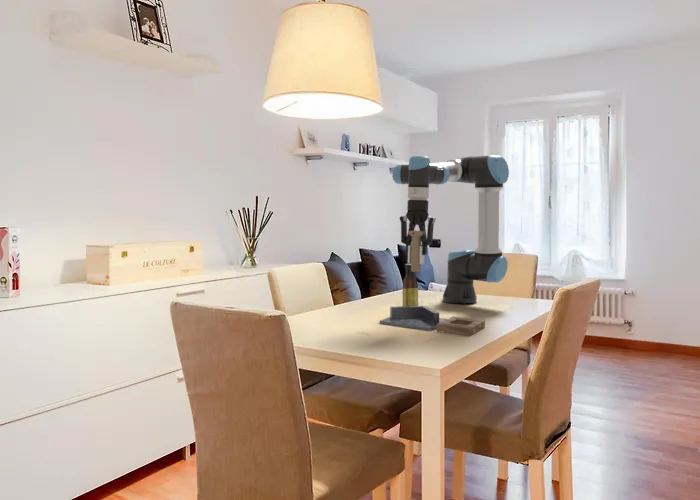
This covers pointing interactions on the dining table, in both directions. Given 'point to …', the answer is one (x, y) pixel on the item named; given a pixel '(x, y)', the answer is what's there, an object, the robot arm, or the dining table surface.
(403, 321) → the v cradle
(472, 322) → the walnut collar
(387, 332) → the dining table surface
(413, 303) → the sauce bottle
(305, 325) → the dining table surface
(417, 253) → the handle
